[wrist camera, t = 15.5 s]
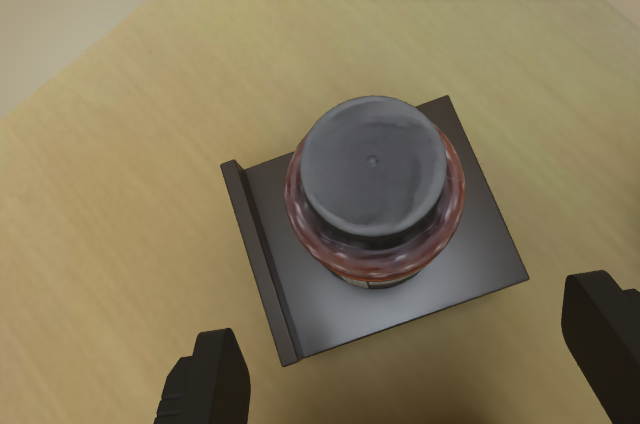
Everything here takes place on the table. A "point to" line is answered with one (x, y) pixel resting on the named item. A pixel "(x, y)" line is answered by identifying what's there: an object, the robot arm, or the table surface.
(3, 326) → the table surface
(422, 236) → the supplement bottle
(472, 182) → the shelf
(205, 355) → the robot arm
